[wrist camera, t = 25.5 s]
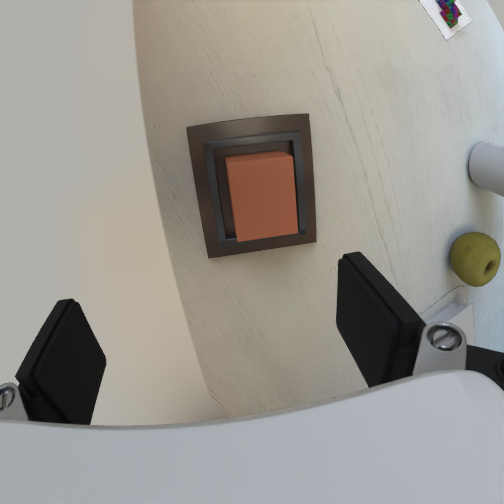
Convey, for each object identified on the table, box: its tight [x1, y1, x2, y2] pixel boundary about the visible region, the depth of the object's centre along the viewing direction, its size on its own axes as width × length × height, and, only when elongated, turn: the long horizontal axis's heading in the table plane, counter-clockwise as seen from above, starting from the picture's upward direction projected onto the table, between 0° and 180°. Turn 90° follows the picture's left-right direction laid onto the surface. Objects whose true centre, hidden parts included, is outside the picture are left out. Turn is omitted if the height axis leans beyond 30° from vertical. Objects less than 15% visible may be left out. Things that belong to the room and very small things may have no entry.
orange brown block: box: [225, 150, 298, 242], centre depth 28 cm, size 7×6×5 cm
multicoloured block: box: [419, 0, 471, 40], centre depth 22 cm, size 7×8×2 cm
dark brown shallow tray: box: [187, 114, 316, 258], centre depth 30 cm, size 14×12×2 cm
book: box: [419, 286, 475, 346], centre depth 45 cm, size 15×23×4 cm, turn 33°
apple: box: [450, 232, 501, 287], centre depth 35 cm, size 8×8×7 cm
